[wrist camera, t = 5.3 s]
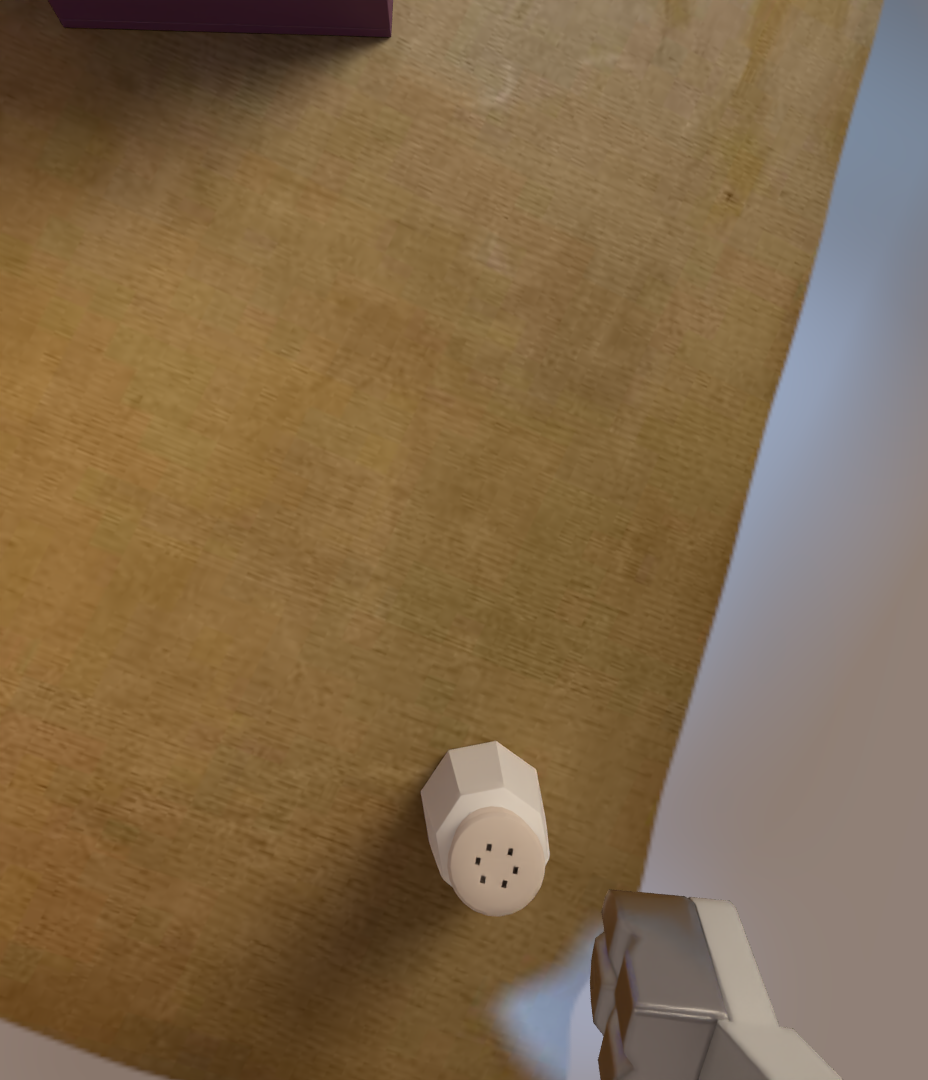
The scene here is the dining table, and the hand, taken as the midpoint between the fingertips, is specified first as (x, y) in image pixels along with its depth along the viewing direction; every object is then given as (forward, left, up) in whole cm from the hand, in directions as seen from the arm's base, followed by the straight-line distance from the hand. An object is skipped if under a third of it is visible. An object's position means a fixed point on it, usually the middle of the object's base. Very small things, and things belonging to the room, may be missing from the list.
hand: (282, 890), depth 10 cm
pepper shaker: (-3, +2, -24) cm, 24 cm away
